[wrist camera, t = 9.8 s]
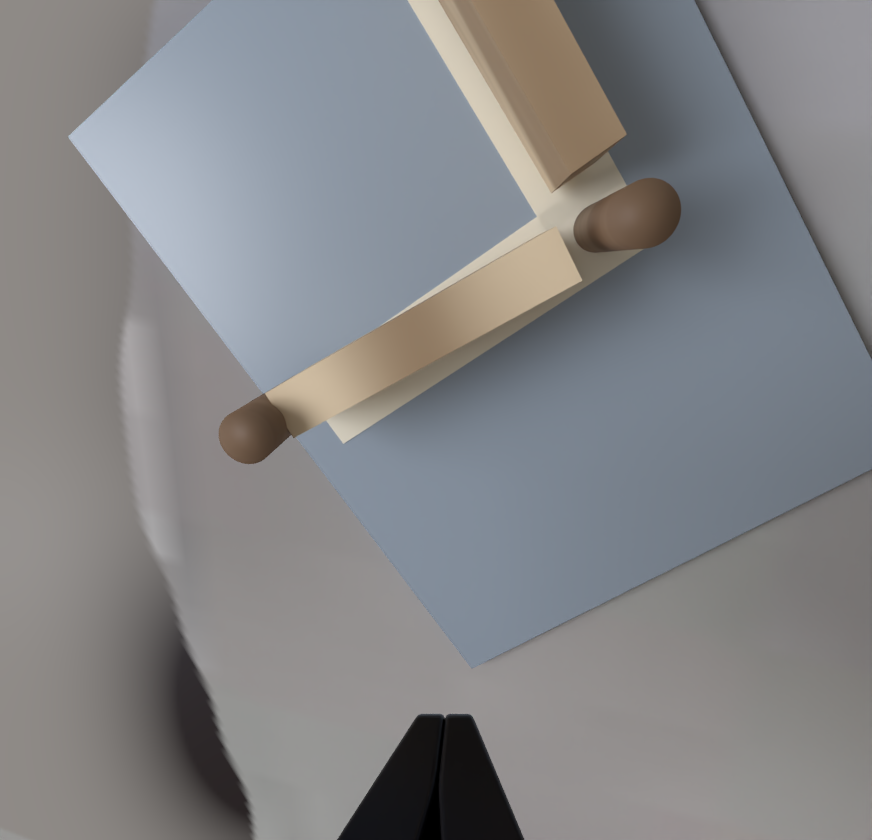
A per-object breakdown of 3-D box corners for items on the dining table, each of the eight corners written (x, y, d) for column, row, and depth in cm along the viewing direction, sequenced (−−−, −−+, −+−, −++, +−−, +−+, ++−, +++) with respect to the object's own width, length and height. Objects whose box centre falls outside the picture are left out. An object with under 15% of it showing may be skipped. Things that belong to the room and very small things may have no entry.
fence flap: (540, 233, 16) (562, 223, 12) (561, 276, 16) (590, 282, 12) (275, 386, 18) (207, 426, 14) (297, 421, 18) (239, 472, 14)
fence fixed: (413, -136, 15) (372, -376, 9) (624, 235, 17) (693, 223, 11) (372, -98, 15) (308, -308, 10) (584, 261, 17) (632, 261, 12)
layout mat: (538, -287, 14) (541, -313, 13) (901, 441, 18) (916, 448, 17) (81, 140, 17) (66, 136, 17) (471, 657, 22) (471, 669, 21)
